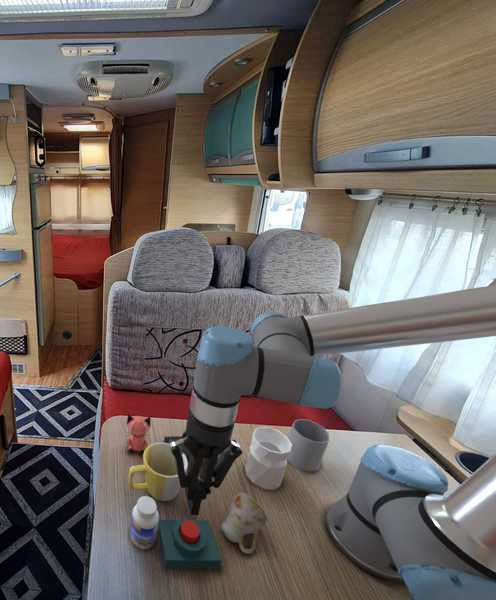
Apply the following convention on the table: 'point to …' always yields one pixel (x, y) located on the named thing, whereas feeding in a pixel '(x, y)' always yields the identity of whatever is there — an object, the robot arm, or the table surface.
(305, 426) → the cup
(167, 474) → the mug
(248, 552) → the mug
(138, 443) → the pink cat figurine
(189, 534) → the button
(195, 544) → the switch
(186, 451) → the spout
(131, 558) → the table surface
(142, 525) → the pill bottle
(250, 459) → the vase
